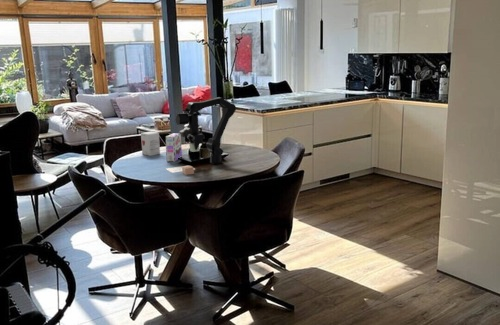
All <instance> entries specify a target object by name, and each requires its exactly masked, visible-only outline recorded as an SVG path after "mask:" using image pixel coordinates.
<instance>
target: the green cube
mask: <svg viewBox="0 0 500 325" xmlns="http://www.w3.org/2000/svg"><path fill="white" fill-rule="evenodd" d="M189 152H191V153H192V152H193V153H194V152H200V145H199V146H198V149H197V150H195V146H194V143H190V142H189Z"/></svg>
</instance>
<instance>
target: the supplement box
mask: <svg viewBox="0 0 500 325" xmlns="http://www.w3.org/2000/svg"><path fill="white" fill-rule="evenodd" d="M140 139H141V155H145V156H150V157H151V156H155V155H160V154H161V148H160V147H161V146H160V145H161V144H160V133H159V132H158V131H151V130H150V131H145V132H141V133H140Z"/></svg>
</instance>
